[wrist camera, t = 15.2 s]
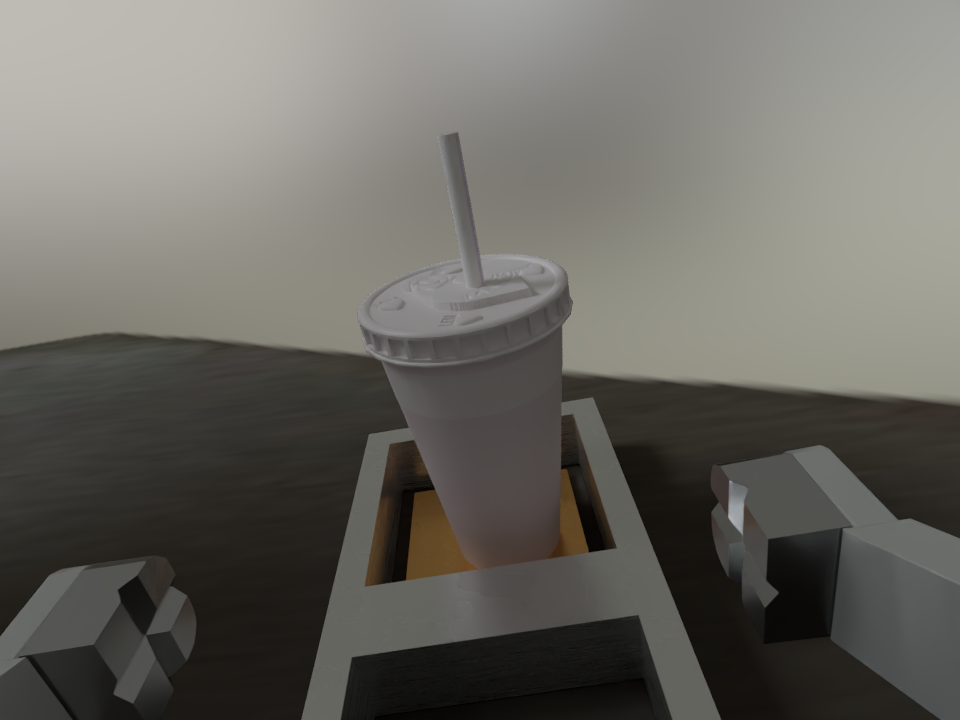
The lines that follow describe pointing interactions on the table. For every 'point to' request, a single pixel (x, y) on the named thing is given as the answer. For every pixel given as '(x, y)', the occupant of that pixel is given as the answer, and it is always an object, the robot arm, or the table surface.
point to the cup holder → (498, 599)
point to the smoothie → (480, 383)
